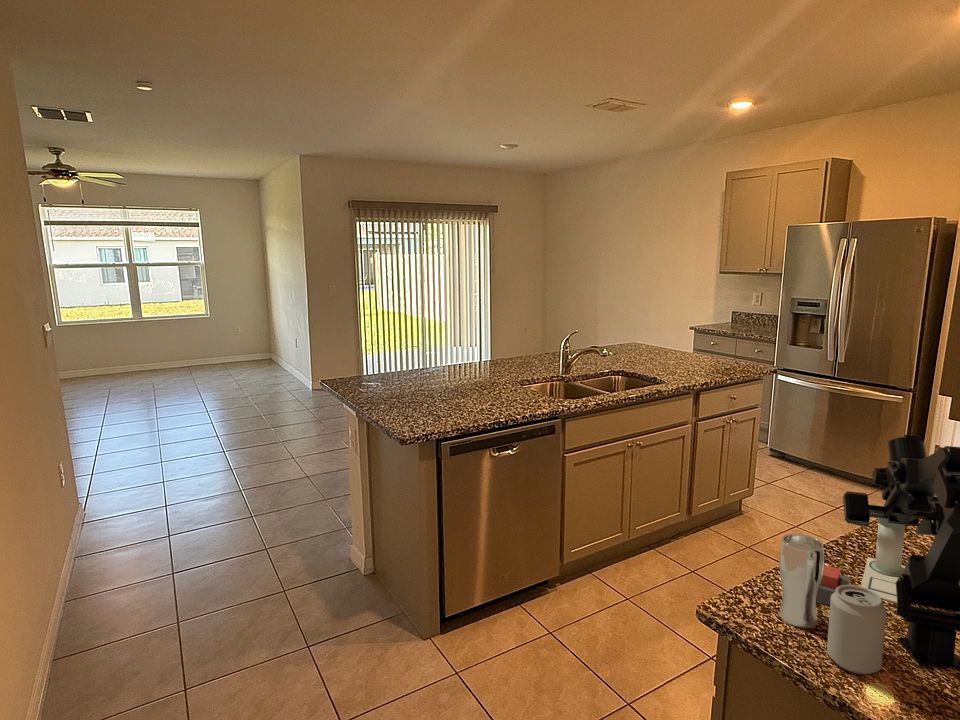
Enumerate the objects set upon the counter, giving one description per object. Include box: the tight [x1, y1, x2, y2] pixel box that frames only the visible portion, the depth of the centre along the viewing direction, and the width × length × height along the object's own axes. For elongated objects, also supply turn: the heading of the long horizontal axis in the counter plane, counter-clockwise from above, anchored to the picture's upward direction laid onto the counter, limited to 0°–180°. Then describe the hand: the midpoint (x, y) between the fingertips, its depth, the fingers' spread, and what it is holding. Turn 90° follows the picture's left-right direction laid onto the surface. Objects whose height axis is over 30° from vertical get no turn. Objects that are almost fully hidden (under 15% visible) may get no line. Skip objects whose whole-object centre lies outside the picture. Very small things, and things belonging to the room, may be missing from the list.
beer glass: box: [778, 533, 825, 629], centre depth 103 cm, size 7×7×15 cm
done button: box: [821, 564, 841, 589], centre depth 111 cm, size 4×4×3 cm
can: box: [826, 584, 887, 675], centre depth 91 cm, size 8×8×12 cm
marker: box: [875, 504, 906, 574], centre depth 118 cm, size 5×5×13 cm
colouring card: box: [860, 556, 905, 604], centre depth 115 cm, size 17×8×1 cm, turn 141°
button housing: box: [816, 574, 851, 607], centre depth 111 cm, size 8×8×3 cm
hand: (890, 528), depth 118 cm, fingers open, 9 cm apart
